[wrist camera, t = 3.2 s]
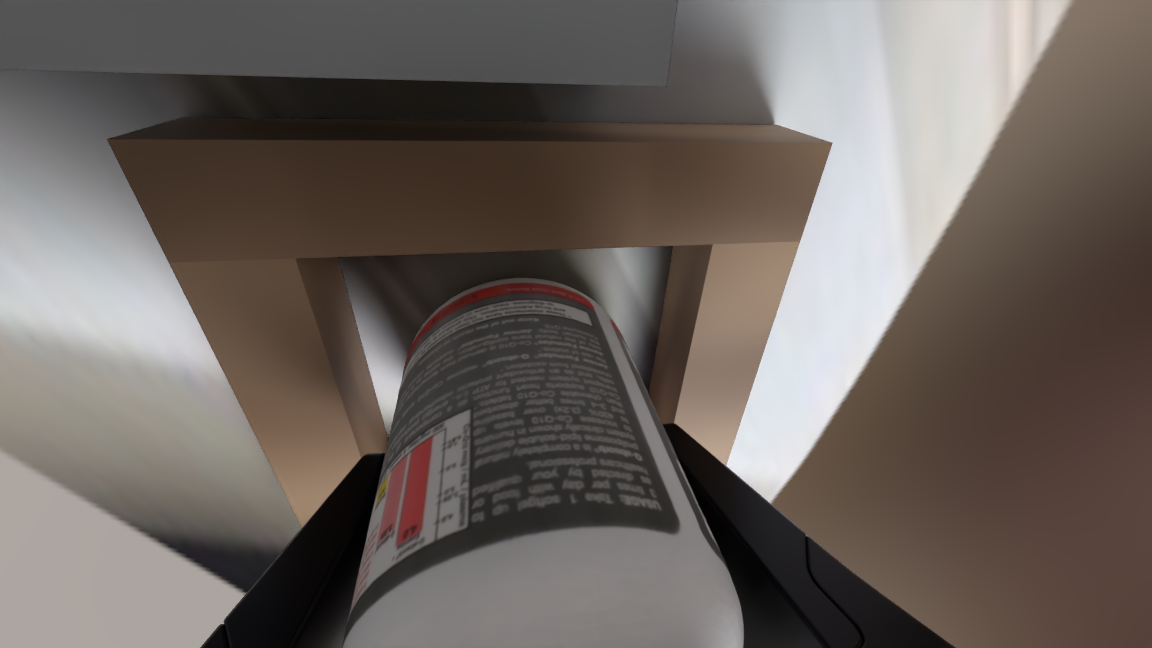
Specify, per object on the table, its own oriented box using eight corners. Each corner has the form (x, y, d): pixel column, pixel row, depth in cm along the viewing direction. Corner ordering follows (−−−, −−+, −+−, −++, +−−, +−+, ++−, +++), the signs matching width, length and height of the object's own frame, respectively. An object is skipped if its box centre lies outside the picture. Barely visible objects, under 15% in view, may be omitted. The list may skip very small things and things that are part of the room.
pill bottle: (367, 387, 12) (90, 1213, 4) (493, 222, 10) (536, 1133, 2) (537, 461, 14) (606, 1029, 6) (662, 342, 13) (996, 922, 4)
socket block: (686, 472, 17) (708, 520, 15) (342, 512, 15) (324, 573, 13) (776, 124, 10) (832, 142, 9) (182, 117, 8) (106, 139, 7)
